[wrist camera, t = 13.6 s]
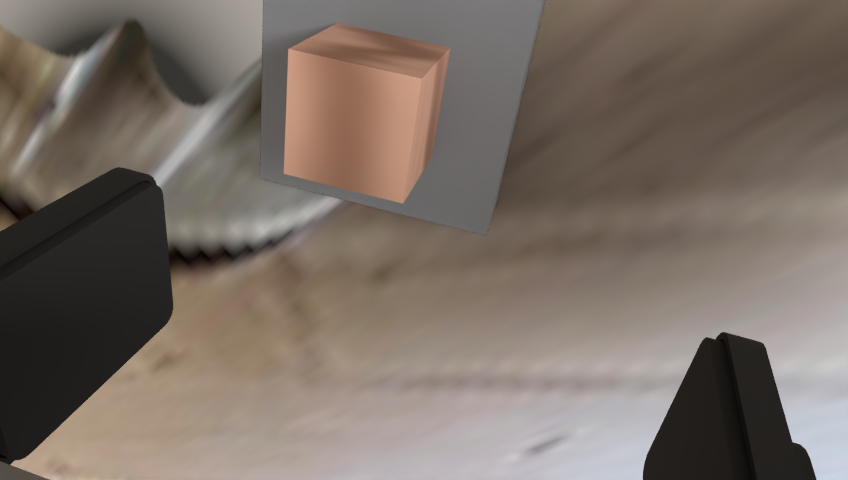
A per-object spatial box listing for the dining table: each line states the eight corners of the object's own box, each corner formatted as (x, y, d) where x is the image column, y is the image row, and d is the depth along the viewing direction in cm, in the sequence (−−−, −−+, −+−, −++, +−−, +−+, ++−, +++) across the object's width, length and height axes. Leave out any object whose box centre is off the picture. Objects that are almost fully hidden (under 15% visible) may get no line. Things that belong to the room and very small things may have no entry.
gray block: (552, -32, 32) (547, -22, 29) (495, 205, 40) (486, 235, 36) (297, -82, 34) (264, -79, 31) (287, 154, 41) (260, 178, 38)
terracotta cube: (450, 47, 32) (421, 78, 26) (432, 156, 35) (403, 203, 30) (337, 23, 32) (288, 48, 27) (329, 132, 35) (283, 173, 30)
